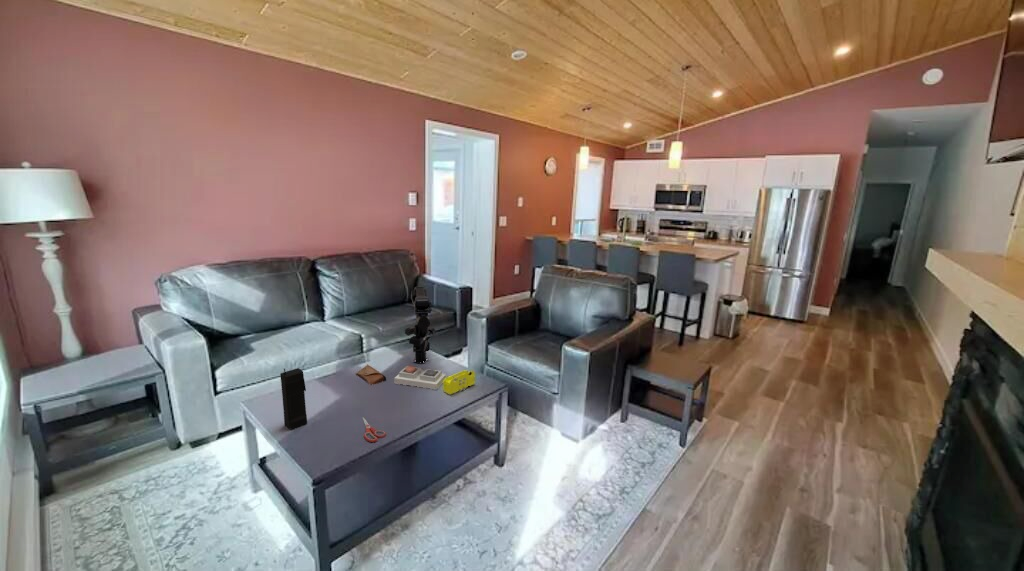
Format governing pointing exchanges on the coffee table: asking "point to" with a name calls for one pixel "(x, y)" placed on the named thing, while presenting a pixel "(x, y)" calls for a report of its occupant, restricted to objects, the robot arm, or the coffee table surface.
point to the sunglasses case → (371, 375)
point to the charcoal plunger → (431, 373)
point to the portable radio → (293, 398)
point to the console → (420, 378)
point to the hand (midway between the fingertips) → (422, 351)
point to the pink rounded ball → (410, 369)
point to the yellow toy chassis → (458, 381)
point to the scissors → (369, 431)
